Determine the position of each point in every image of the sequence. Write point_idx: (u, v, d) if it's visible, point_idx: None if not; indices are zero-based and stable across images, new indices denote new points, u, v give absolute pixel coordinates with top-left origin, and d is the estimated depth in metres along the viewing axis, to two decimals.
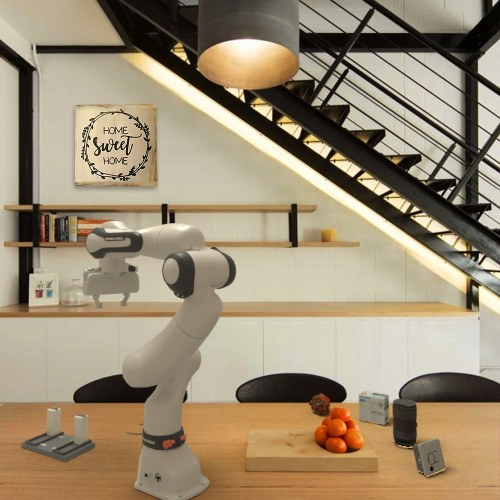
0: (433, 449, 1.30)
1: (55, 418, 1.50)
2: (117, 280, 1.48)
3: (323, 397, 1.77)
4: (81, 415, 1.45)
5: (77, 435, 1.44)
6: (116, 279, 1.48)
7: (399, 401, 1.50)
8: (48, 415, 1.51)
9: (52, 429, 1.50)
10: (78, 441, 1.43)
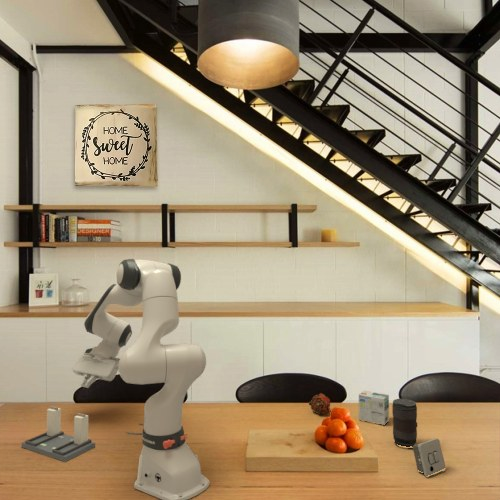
0: (433, 449, 1.30)
1: (55, 418, 1.50)
2: None
3: (323, 397, 1.77)
4: (81, 415, 1.45)
5: (77, 435, 1.44)
6: None
7: (399, 401, 1.50)
8: (48, 415, 1.51)
9: (52, 429, 1.50)
10: (78, 441, 1.43)
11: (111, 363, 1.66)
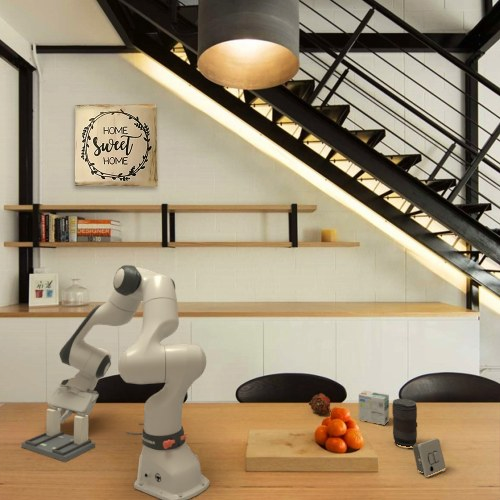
0: (433, 449, 1.30)
1: (55, 418, 1.50)
2: None
3: (323, 397, 1.77)
4: (81, 415, 1.45)
5: (77, 435, 1.44)
6: None
7: (399, 401, 1.50)
8: (48, 415, 1.51)
9: (52, 429, 1.49)
10: (78, 441, 1.43)
11: (87, 396, 1.55)
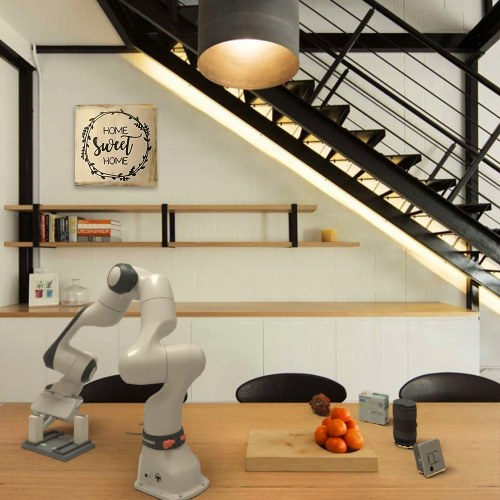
0: (433, 449, 1.30)
1: (37, 424, 1.44)
2: None
3: (323, 397, 1.77)
4: (81, 415, 1.45)
5: (77, 435, 1.44)
6: None
7: (399, 401, 1.50)
8: (30, 422, 1.44)
9: (34, 436, 1.43)
10: (78, 441, 1.43)
11: (71, 402, 1.49)
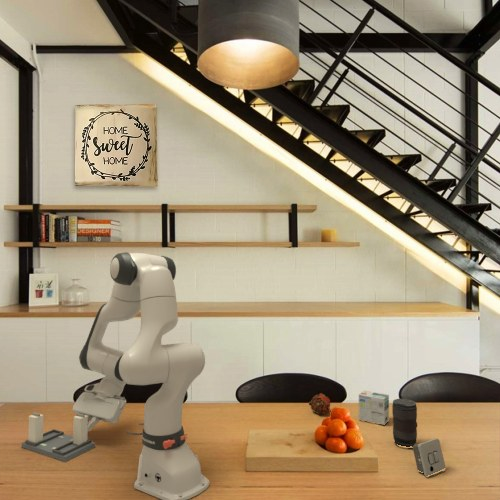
0: (433, 449, 1.30)
1: (37, 424, 1.44)
2: None
3: (323, 397, 1.77)
4: (80, 415, 1.44)
5: (76, 435, 1.43)
6: None
7: (399, 401, 1.50)
8: (30, 422, 1.44)
9: (34, 436, 1.43)
10: (77, 441, 1.43)
11: (115, 403, 1.49)
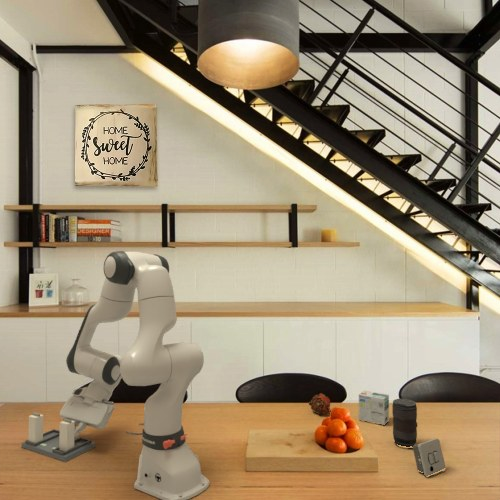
0: (433, 449, 1.30)
1: (37, 424, 1.44)
2: None
3: (323, 397, 1.77)
4: (67, 421, 1.40)
5: (63, 441, 1.39)
6: None
7: (399, 401, 1.50)
8: (30, 422, 1.44)
9: (34, 436, 1.43)
10: (64, 448, 1.38)
11: (103, 407, 1.44)
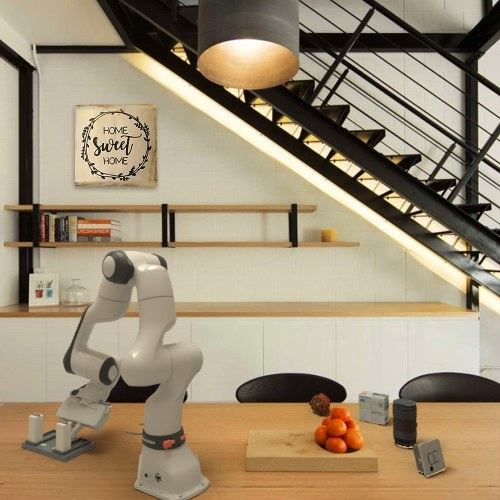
0: (433, 449, 1.30)
1: (37, 424, 1.44)
2: None
3: (323, 397, 1.77)
4: (63, 422, 1.38)
5: (59, 443, 1.37)
6: None
7: (399, 401, 1.50)
8: (30, 422, 1.44)
9: (34, 436, 1.43)
10: (60, 449, 1.37)
11: (100, 408, 1.43)
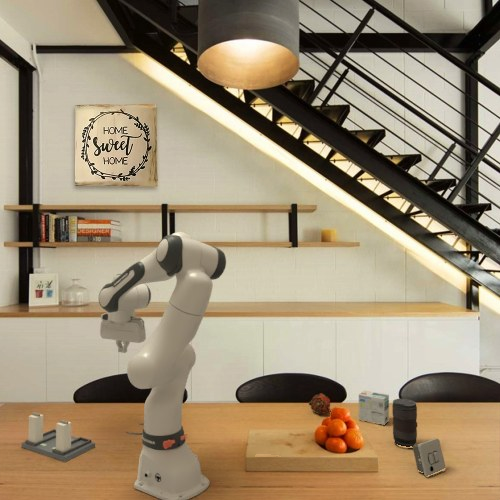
0: (433, 449, 1.30)
1: (37, 424, 1.44)
2: None
3: (323, 397, 1.77)
4: (63, 422, 1.38)
5: (59, 443, 1.37)
6: None
7: (399, 401, 1.50)
8: (30, 422, 1.44)
9: (34, 436, 1.43)
10: (60, 449, 1.37)
11: (135, 327, 1.56)
